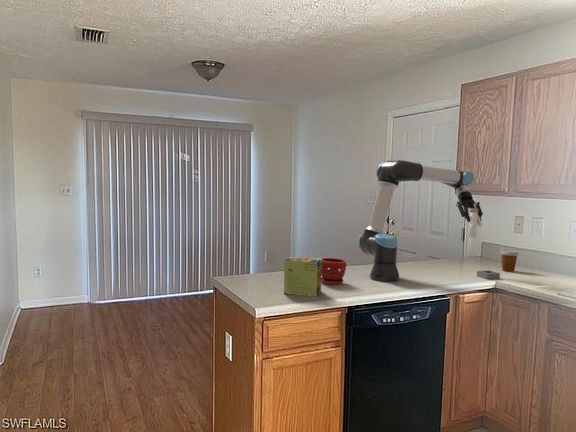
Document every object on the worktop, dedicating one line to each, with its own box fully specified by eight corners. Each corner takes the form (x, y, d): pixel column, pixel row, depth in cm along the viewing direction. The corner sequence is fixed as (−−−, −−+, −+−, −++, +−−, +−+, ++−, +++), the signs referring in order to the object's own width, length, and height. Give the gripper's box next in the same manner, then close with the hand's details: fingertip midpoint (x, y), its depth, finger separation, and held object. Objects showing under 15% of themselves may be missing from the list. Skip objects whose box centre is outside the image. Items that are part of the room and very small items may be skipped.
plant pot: (335, 287, 213) (336, 263, 212) (314, 283, 222) (314, 259, 221) (350, 283, 223) (351, 259, 222) (329, 279, 232) (329, 256, 231)
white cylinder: (471, 237, 245) (473, 208, 244) (467, 236, 249) (468, 208, 248) (477, 237, 246) (479, 208, 245) (473, 236, 250) (474, 208, 249)
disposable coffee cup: (501, 272, 259) (502, 251, 258) (497, 268, 268) (498, 249, 267) (519, 273, 257) (520, 252, 256) (514, 270, 266) (516, 250, 265)
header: (486, 281, 233) (487, 273, 233) (476, 277, 241) (477, 270, 241) (499, 280, 235) (500, 273, 235) (489, 277, 243) (489, 270, 243)
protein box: (316, 297, 195) (317, 262, 194) (283, 294, 199) (284, 260, 198) (321, 291, 205) (322, 258, 204) (289, 288, 209) (290, 256, 208)
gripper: (475, 199, 262) (488, 230, 247) (447, 199, 261) (459, 229, 246) (480, 190, 256) (494, 221, 241) (452, 190, 255) (464, 221, 240)
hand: (476, 225), depth 243 cm, fingers closed on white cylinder, 4 cm apart
